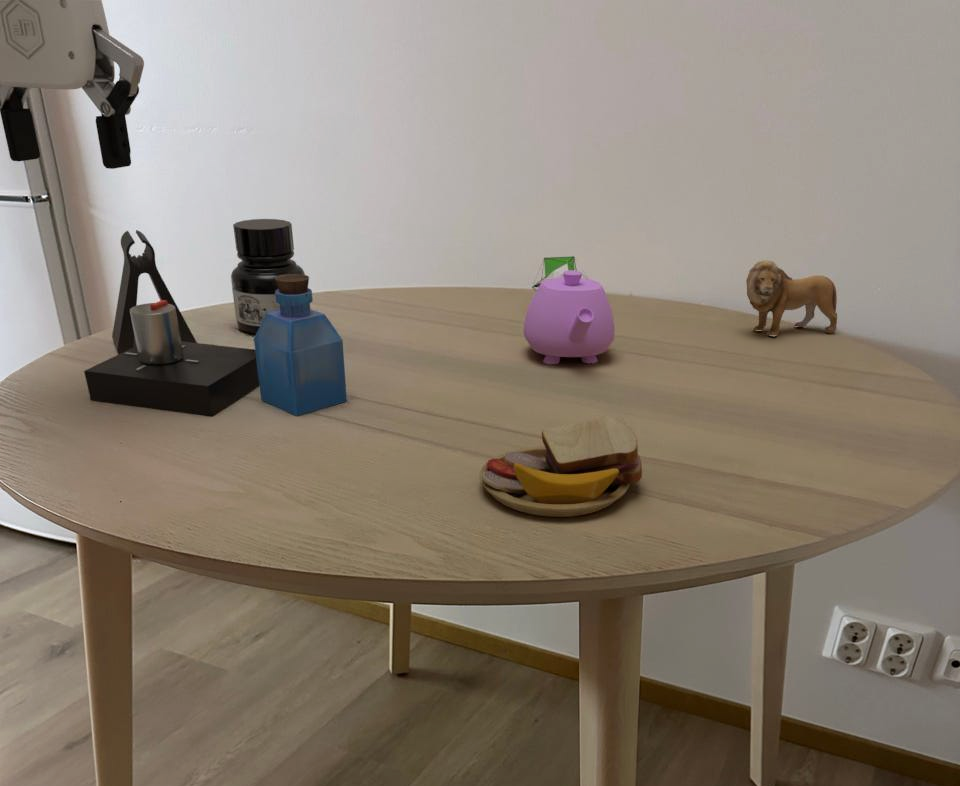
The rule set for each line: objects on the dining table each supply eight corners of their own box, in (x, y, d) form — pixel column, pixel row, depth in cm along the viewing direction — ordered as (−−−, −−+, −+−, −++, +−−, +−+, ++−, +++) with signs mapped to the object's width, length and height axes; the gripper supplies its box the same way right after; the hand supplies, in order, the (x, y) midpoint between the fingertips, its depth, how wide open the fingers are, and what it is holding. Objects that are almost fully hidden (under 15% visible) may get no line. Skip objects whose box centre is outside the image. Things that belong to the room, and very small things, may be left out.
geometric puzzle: (524, 283, 128) (536, 241, 120) (571, 281, 129) (586, 239, 122) (535, 326, 125) (548, 286, 118) (582, 323, 127) (598, 283, 119)
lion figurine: (752, 344, 113) (766, 266, 108) (727, 332, 117) (739, 257, 112) (848, 332, 117) (866, 257, 112) (820, 321, 121) (836, 248, 116)
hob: (90, 400, 94) (83, 369, 92) (157, 365, 103) (152, 336, 101) (212, 416, 90) (207, 384, 89) (270, 378, 100) (267, 349, 98)
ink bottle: (220, 328, 115) (205, 225, 108) (269, 313, 121) (257, 214, 115) (279, 341, 111) (267, 234, 104) (326, 324, 117) (318, 222, 111)
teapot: (598, 338, 114) (605, 258, 109) (627, 377, 102) (636, 289, 96) (515, 339, 113) (518, 258, 108) (534, 379, 101) (538, 290, 95)
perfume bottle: (310, 386, 98) (300, 267, 91) (346, 401, 94) (338, 278, 88) (261, 399, 94) (246, 276, 88) (296, 415, 91) (283, 289, 84)
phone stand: (189, 332, 114) (172, 227, 107) (197, 346, 109) (180, 237, 102) (112, 340, 111) (90, 232, 104) (117, 354, 106) (94, 242, 99)
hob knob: (167, 366, 93) (157, 312, 90) (130, 361, 94) (119, 308, 91) (191, 354, 97) (183, 302, 94) (156, 349, 98) (146, 298, 95)
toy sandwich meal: (477, 458, 83) (478, 407, 80) (628, 459, 83) (633, 408, 80) (480, 522, 72) (481, 465, 70) (652, 522, 72) (659, 466, 70)
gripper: (-100, -83, 73) (-39, 161, 82) (88, -82, 68) (129, 174, 78) (-29, -73, 79) (20, 153, 88) (148, -71, 75) (179, 165, 84)
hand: (71, 163), depth 83 cm, fingers open, 9 cm apart
